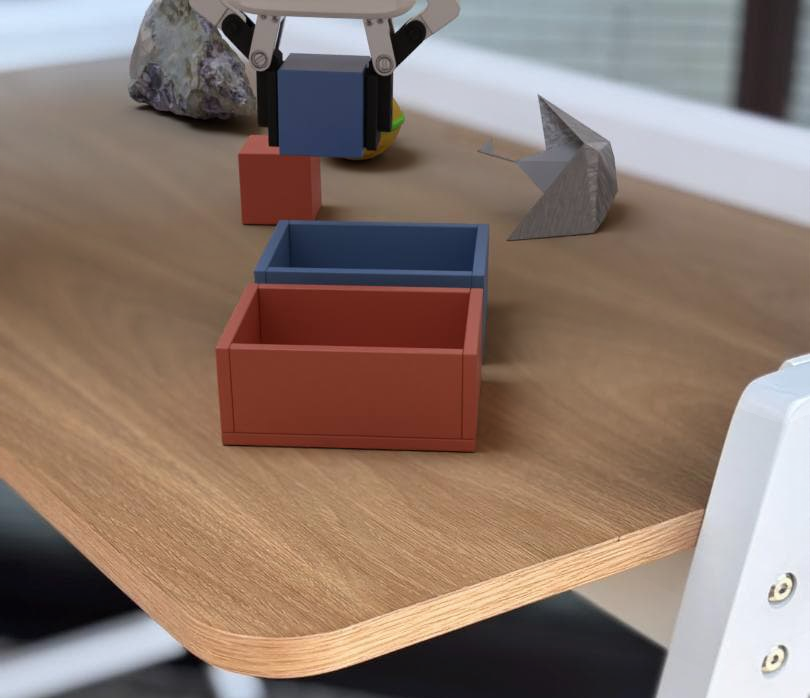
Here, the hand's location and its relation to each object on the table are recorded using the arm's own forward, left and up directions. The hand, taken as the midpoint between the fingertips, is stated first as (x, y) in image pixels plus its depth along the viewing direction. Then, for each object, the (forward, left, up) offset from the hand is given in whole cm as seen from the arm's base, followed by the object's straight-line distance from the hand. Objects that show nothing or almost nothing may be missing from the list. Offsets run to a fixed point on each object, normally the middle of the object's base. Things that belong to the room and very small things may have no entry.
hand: (325, 139), depth 82 cm
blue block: (0, 0, 0) cm, 0 cm away
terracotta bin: (+4, -19, -8) cm, 21 cm away
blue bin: (+4, -9, -8) cm, 12 cm away
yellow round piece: (-1, +26, -8) cm, 27 cm away
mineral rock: (-15, +36, -8) cm, 40 cm away
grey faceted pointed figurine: (+13, +12, -8) cm, 19 cm away
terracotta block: (-4, +11, -8) cm, 14 cm away
